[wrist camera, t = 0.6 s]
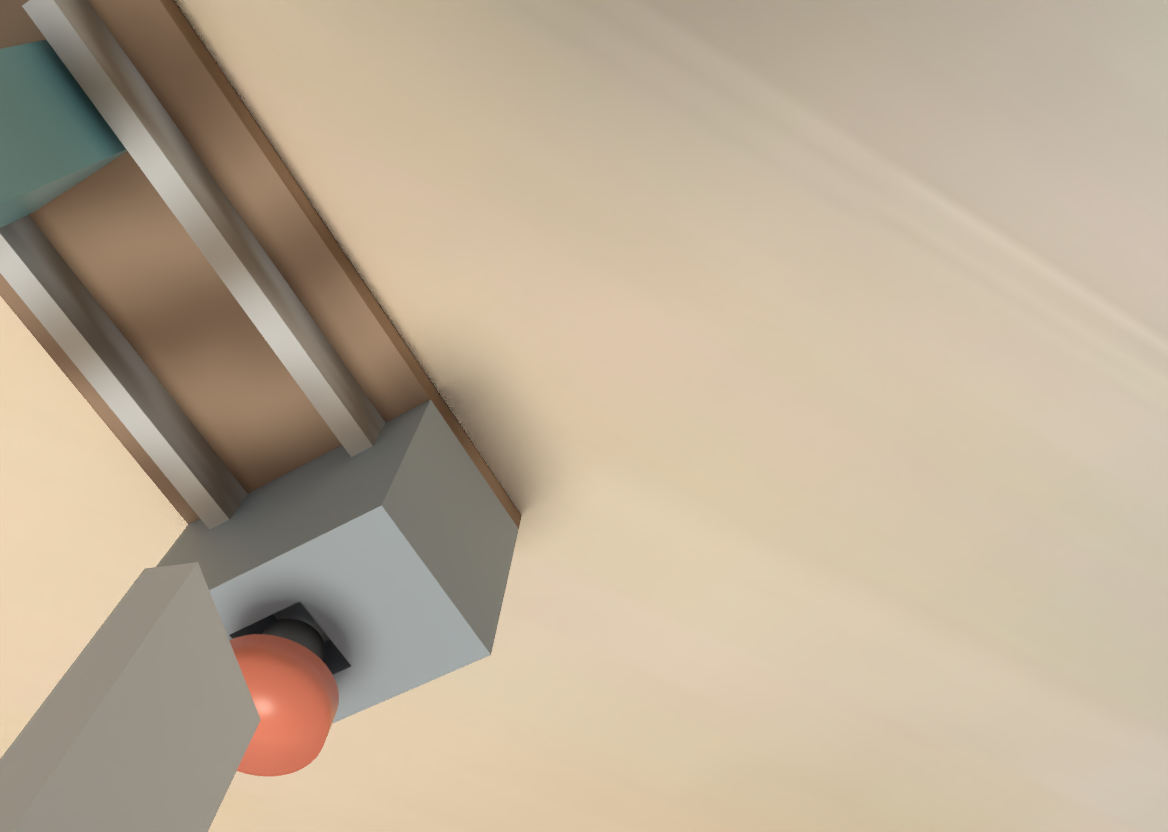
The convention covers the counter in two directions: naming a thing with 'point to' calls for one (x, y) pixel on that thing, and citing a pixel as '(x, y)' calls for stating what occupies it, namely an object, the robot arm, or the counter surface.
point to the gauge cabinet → (368, 559)
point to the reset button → (286, 696)
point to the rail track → (198, 275)
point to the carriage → (45, 130)
